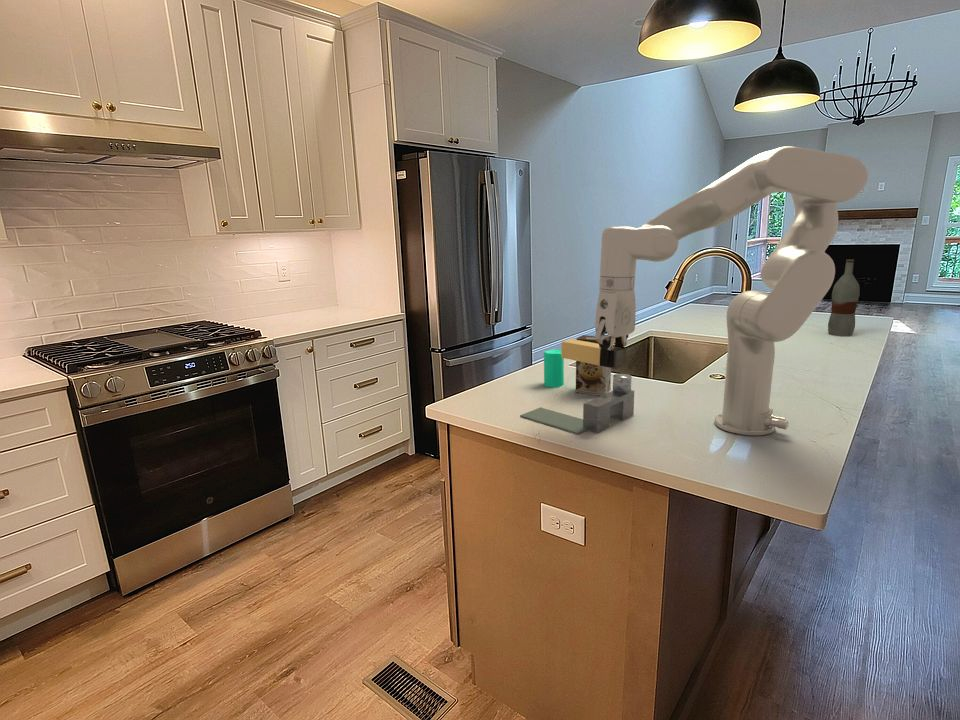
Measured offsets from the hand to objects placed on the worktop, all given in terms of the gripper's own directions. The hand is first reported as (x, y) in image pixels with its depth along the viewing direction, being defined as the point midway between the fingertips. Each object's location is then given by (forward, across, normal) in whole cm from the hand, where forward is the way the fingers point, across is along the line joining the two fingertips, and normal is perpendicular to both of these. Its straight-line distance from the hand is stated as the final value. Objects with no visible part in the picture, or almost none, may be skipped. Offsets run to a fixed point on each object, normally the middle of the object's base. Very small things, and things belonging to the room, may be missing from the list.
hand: (611, 363), depth 118 cm
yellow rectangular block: (0, 0, +5) cm, 5 cm away
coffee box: (+16, +23, +19) cm, 34 cm away
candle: (+17, +22, +32) cm, 42 cm away
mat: (+17, -2, +13) cm, 21 cm away
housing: (+16, +5, +3) cm, 17 cm away
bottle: (+12, +148, -17) cm, 150 cm away
